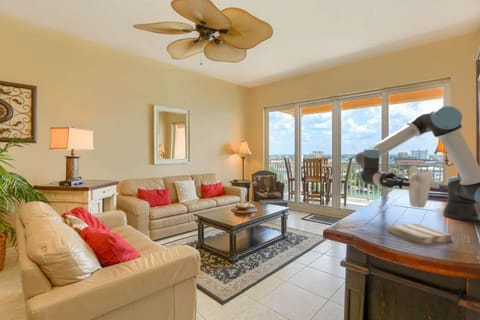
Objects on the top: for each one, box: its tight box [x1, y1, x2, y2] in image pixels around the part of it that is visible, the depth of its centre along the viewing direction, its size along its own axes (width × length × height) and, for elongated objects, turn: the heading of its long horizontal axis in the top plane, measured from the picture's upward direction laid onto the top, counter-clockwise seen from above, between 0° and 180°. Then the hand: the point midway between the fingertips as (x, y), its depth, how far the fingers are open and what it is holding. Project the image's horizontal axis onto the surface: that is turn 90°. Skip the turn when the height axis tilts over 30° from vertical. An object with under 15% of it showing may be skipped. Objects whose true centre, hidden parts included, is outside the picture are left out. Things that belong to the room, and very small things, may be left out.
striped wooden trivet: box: [387, 223, 453, 245], centre depth 106 cm, size 16×16×2 cm
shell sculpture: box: [407, 165, 434, 209], centre depth 105 cm, size 8×8×18 cm
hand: (428, 185), depth 101 cm, fingers closed on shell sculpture, 10 cm apart
